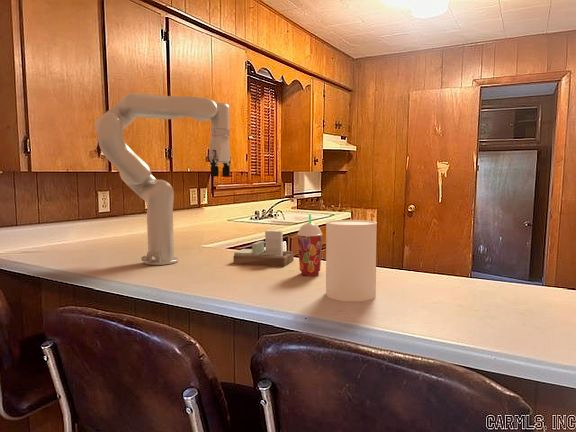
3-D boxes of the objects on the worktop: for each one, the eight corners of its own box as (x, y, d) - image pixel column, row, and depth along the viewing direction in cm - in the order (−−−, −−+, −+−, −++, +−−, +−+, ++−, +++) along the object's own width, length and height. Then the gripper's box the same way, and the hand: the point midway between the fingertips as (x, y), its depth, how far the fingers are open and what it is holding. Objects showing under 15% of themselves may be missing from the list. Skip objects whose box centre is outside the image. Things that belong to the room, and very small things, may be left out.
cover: (256, 255, 159) (255, 244, 159) (234, 254, 162) (234, 243, 161) (264, 251, 167) (264, 240, 167) (243, 250, 170) (243, 240, 170)
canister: (315, 294, 118) (315, 222, 116) (346, 285, 127) (346, 218, 125) (355, 304, 108) (356, 226, 106) (385, 294, 118) (386, 222, 116)
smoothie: (324, 272, 146) (324, 213, 144) (319, 277, 138) (319, 215, 136) (300, 270, 148) (300, 213, 146) (294, 276, 140) (294, 215, 138)
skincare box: (283, 261, 163) (282, 230, 162) (281, 263, 159) (281, 231, 158) (267, 260, 164) (267, 229, 163) (265, 262, 160) (264, 231, 159)
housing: (284, 266, 155) (284, 256, 155) (233, 263, 161) (233, 253, 161) (293, 260, 166) (293, 251, 166) (246, 258, 172) (245, 248, 172)
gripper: (222, 136, 183) (222, 176, 185) (201, 132, 167) (201, 176, 168) (237, 136, 181) (238, 177, 182) (218, 131, 164) (218, 176, 166)
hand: (220, 176), depth 175 cm, fingers open, 9 cm apart
